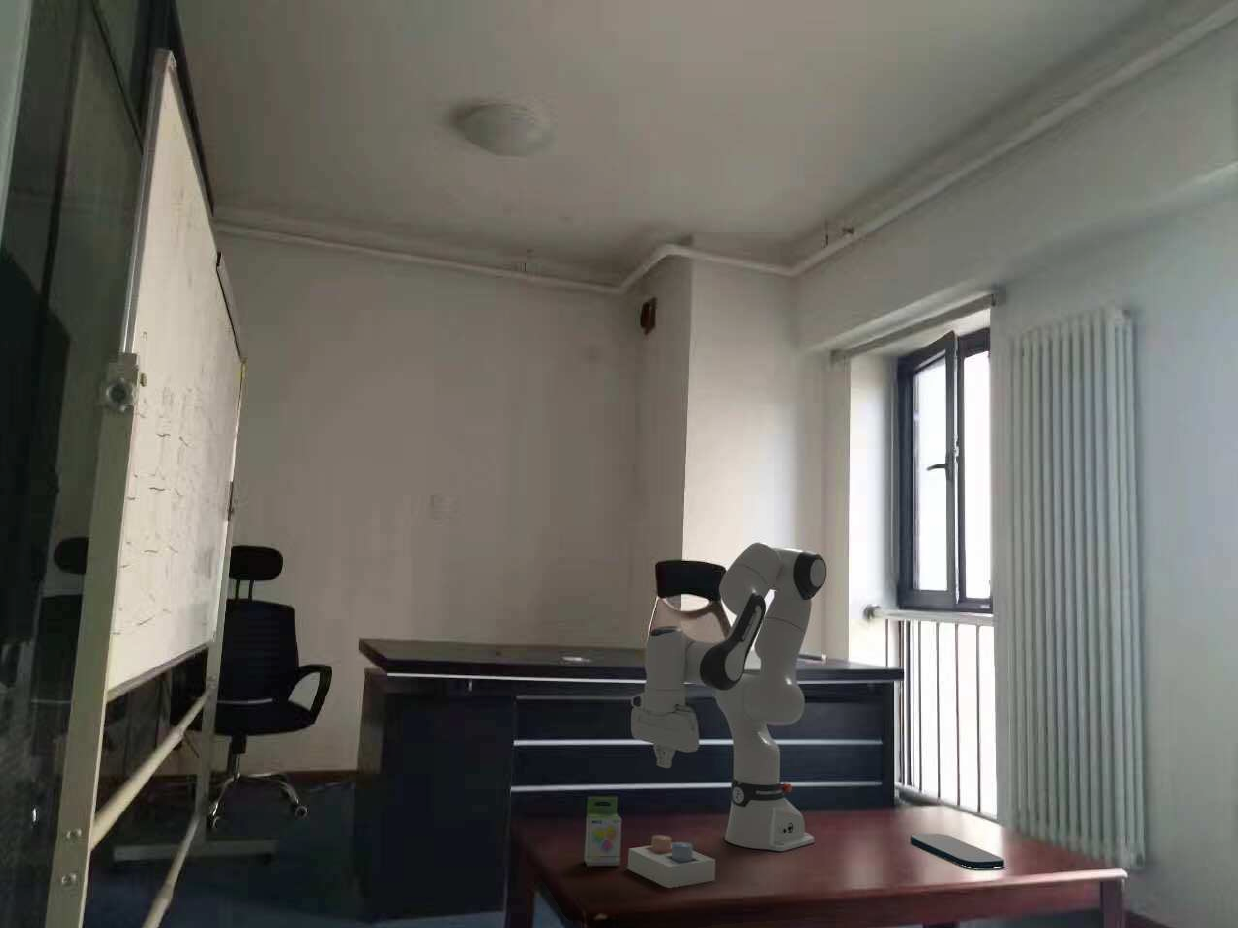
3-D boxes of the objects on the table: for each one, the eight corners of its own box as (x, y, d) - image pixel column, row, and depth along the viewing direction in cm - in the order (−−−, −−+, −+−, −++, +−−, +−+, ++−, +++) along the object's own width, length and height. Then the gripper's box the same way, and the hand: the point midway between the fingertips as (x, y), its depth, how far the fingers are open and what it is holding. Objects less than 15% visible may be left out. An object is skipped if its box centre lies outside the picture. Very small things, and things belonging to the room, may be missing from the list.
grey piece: (683, 861, 184) (683, 840, 185) (696, 866, 181) (696, 846, 181) (667, 863, 182) (668, 843, 182) (679, 869, 178) (680, 848, 179)
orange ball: (662, 853, 190) (663, 834, 190) (674, 859, 186) (675, 839, 187) (646, 856, 187) (647, 836, 188) (658, 861, 184) (659, 841, 184)
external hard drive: (905, 842, 221) (905, 834, 221) (944, 841, 224) (944, 833, 225) (967, 871, 199) (967, 862, 199) (1010, 870, 202) (1010, 860, 202)
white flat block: (672, 861, 193) (673, 842, 193) (714, 880, 181) (715, 859, 182) (627, 868, 186) (628, 848, 187) (668, 888, 174) (669, 866, 175)
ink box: (587, 867, 186) (591, 800, 188) (583, 861, 189) (587, 796, 191) (619, 866, 187) (622, 800, 189) (615, 861, 191) (618, 796, 193)
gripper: (706, 706, 187) (706, 774, 186) (648, 695, 204) (648, 756, 202) (683, 708, 184) (682, 777, 182) (626, 696, 201) (625, 759, 199)
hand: (664, 766), depth 192 cm, fingers closed
